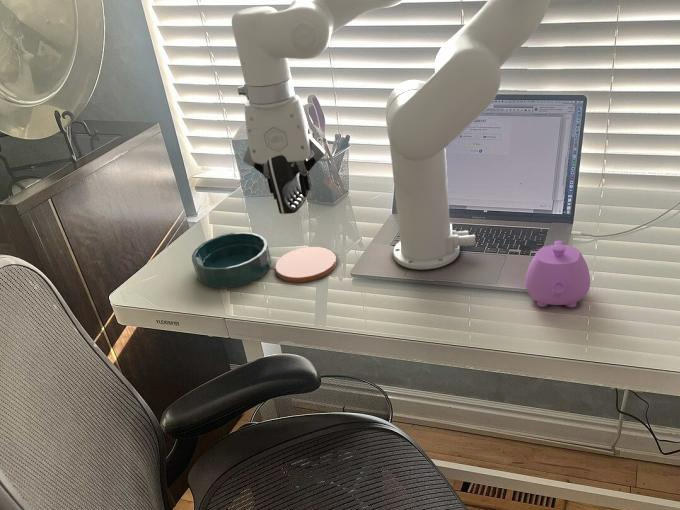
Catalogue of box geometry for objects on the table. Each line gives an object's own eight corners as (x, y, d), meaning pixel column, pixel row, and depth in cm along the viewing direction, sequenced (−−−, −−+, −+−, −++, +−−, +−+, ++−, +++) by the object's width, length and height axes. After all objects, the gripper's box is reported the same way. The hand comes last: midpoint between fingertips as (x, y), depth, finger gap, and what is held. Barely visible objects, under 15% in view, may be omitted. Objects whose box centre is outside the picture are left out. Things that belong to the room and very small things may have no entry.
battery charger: (298, 216, 121) (283, 153, 114) (278, 215, 122) (263, 154, 115) (312, 198, 126) (299, 138, 119) (293, 198, 127) (279, 138, 120)
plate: (339, 249, 135) (339, 244, 135) (332, 280, 126) (331, 275, 125) (282, 253, 136) (281, 248, 136) (270, 284, 127) (269, 279, 127)
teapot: (588, 275, 119) (591, 227, 113) (590, 326, 107) (594, 274, 101) (526, 275, 121) (527, 227, 115) (522, 324, 109) (523, 273, 104)
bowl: (278, 250, 138) (273, 230, 135) (263, 288, 126) (258, 266, 124) (209, 254, 139) (203, 234, 136) (189, 292, 128) (182, 271, 125)
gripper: (214, 103, 110) (241, 207, 120) (318, 94, 108) (336, 201, 119) (226, 88, 116) (250, 189, 126) (324, 80, 114) (341, 183, 125)
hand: (291, 194), depth 122 cm, fingers closed on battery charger, 4 cm apart
